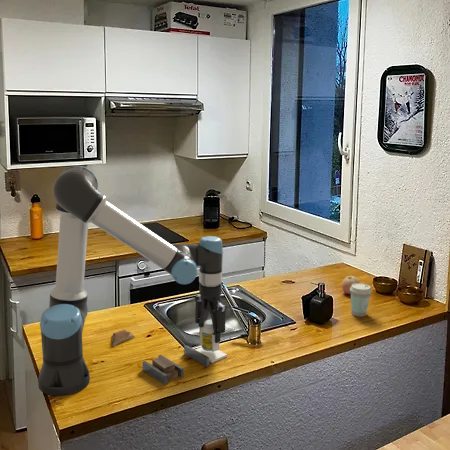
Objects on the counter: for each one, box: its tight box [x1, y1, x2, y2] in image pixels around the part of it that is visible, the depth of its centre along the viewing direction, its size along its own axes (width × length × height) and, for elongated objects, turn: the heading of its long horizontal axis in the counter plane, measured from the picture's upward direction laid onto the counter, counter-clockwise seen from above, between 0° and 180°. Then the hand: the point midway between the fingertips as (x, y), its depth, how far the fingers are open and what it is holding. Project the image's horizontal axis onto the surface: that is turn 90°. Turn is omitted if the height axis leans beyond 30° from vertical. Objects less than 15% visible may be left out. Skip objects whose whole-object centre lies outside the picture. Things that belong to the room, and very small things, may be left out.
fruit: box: [341, 275, 360, 296], centre depth 247 cm, size 8×8×8 cm
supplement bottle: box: [201, 319, 218, 351], centre depth 186 cm, size 5×5×10 cm
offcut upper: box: [151, 355, 175, 374], centre depth 174 cm, size 4×7×2 cm, turn 39°
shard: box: [111, 329, 136, 348], centre depth 198 cm, size 11×8×2 cm
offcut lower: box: [150, 363, 179, 382], centre depth 175 cm, size 4×9×2 cm, turn 43°
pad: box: [194, 346, 228, 364], centre depth 188 cm, size 7×10×1 cm
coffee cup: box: [350, 283, 373, 318], centre depth 224 cm, size 9×8×12 cm
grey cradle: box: [141, 344, 210, 386], centre depth 178 cm, size 18×12×3 cm, turn 133°
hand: (209, 347), depth 187 cm, fingers closed on supplement bottle, 5 cm apart
